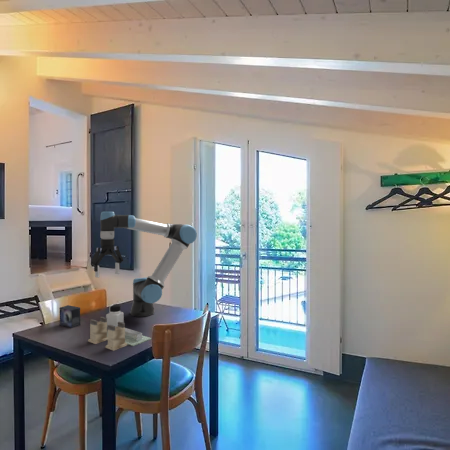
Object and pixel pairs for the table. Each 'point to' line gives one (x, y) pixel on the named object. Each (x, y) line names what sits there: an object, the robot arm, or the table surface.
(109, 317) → the medicine bottle
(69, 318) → the small box
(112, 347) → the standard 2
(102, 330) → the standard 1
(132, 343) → the mat
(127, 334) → the rail
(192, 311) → the table surface
